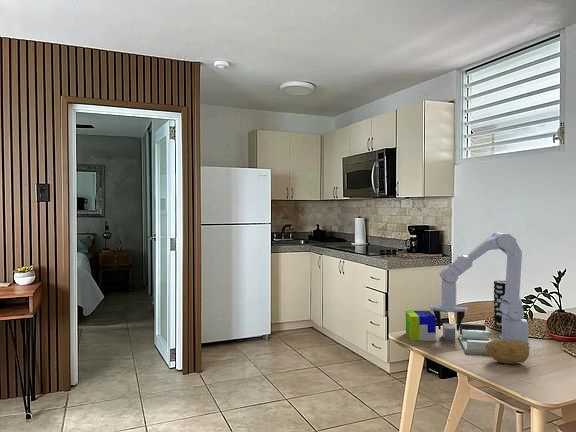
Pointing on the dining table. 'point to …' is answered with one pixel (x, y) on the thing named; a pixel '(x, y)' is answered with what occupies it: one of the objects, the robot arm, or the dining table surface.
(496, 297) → the white-spotted black cylinder
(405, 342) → the dining table surface
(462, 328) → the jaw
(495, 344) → the potato
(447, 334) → the steel block
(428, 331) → the puzzle toy
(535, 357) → the dining table surface
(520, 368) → the dining table surface
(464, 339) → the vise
